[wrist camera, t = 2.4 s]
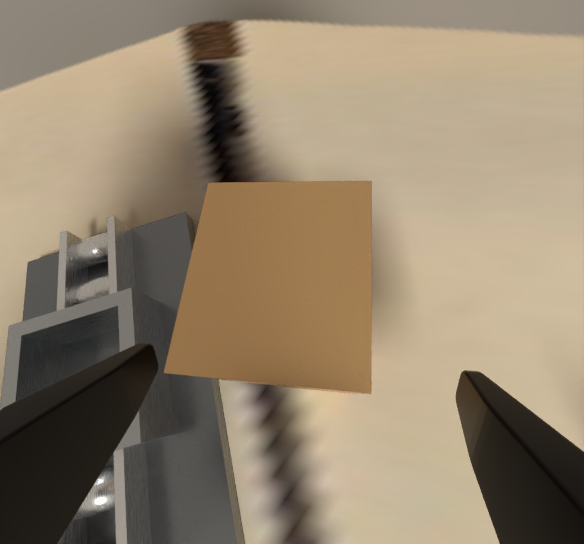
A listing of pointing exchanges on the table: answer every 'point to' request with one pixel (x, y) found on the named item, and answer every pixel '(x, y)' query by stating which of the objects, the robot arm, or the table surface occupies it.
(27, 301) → the grey fixture tray
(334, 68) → the table surface
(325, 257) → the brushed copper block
